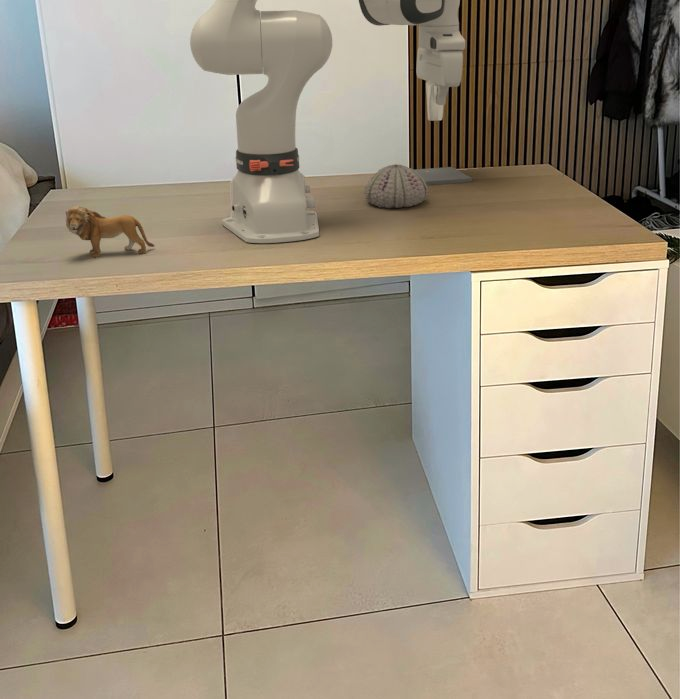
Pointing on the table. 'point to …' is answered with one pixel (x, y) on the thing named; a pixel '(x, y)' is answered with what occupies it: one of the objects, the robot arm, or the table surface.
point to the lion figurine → (104, 228)
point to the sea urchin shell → (396, 187)
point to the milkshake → (433, 102)
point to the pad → (442, 175)
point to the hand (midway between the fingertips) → (436, 103)
